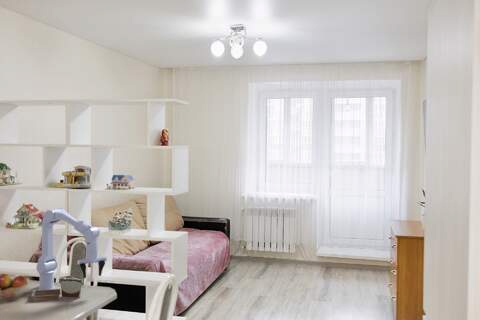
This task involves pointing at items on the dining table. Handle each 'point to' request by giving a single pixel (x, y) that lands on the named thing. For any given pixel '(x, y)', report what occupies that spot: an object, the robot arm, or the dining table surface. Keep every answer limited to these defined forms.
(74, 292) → the food container
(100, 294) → the dining table surface
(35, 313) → the dining table surface
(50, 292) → the bottom track
